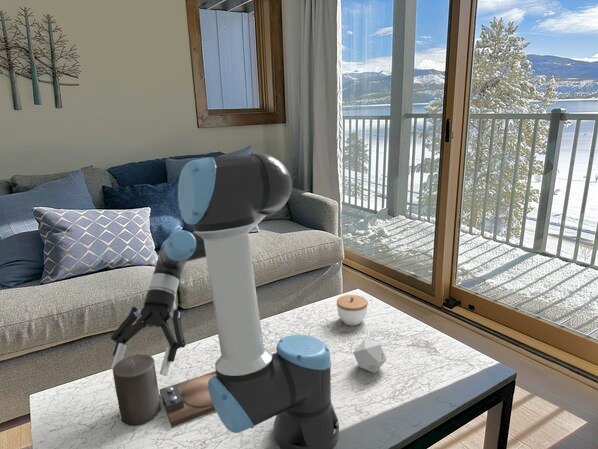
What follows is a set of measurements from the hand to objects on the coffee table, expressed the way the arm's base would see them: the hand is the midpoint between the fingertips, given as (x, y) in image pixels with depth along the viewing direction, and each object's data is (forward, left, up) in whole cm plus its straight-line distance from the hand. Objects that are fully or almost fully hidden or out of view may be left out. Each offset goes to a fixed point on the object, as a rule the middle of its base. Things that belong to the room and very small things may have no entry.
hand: (138, 372), depth 104 cm
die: (-18, -60, -10) cm, 63 cm away
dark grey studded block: (-5, -16, -8) cm, 18 cm away
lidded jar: (+7, -72, -10) cm, 73 cm away
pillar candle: (-2, +1, -10) cm, 10 cm away
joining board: (-5, -16, -10) cm, 19 cm away
